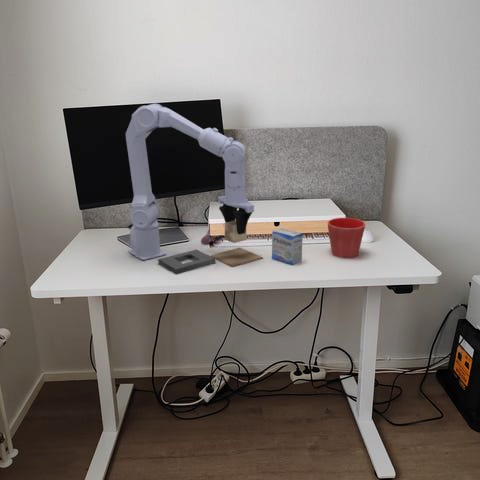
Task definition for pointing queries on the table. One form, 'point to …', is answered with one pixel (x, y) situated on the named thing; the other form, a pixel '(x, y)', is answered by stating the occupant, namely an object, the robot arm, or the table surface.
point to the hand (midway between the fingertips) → (236, 231)
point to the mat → (236, 257)
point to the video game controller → (207, 238)
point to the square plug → (233, 232)
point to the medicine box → (287, 246)
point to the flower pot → (345, 236)
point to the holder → (178, 267)
